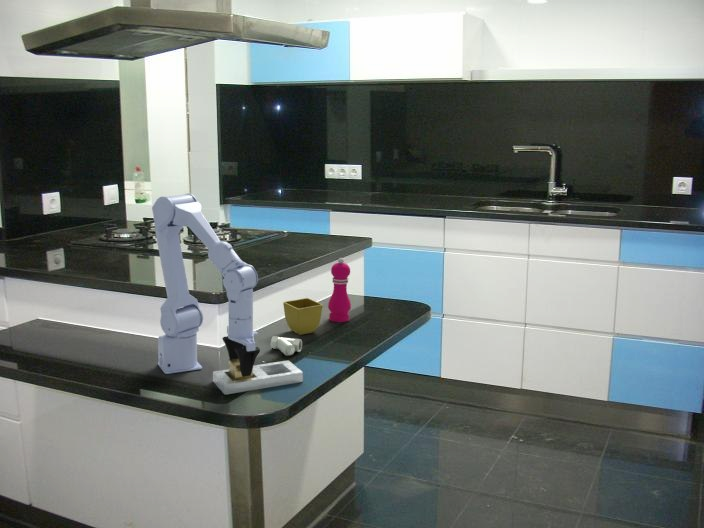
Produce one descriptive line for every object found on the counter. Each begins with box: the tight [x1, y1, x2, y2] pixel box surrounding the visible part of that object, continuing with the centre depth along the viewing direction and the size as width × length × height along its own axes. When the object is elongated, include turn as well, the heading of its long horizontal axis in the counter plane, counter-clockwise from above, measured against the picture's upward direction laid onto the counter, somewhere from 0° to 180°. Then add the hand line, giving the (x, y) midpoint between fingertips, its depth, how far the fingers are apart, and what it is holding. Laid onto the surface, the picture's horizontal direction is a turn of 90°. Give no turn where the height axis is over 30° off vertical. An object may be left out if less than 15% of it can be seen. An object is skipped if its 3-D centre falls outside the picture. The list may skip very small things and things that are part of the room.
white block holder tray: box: [212, 360, 304, 395], centre depth 178 cm, size 20×9×2 cm, turn 118°
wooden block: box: [228, 358, 253, 381], centre depth 176 cm, size 4×4×6 cm
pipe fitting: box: [270, 335, 303, 357], centre depth 200 cm, size 8×4×7 cm
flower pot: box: [282, 297, 324, 336], centre depth 216 cm, size 9×9×9 cm
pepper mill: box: [327, 257, 352, 323], centre depth 229 cm, size 7×7×20 cm
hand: (240, 370), depth 176 cm, fingers open, 7 cm apart
